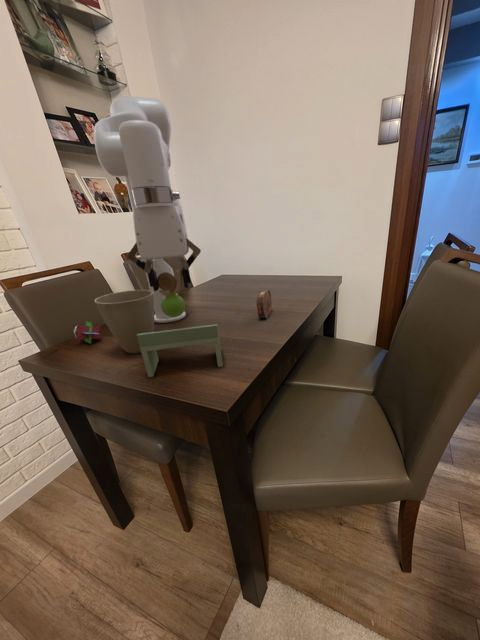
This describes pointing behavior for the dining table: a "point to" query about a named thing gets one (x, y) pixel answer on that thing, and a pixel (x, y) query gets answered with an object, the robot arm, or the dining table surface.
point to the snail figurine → (171, 293)
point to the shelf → (176, 343)
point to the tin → (264, 304)
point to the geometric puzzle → (87, 332)
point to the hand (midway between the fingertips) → (171, 287)
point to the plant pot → (128, 316)
